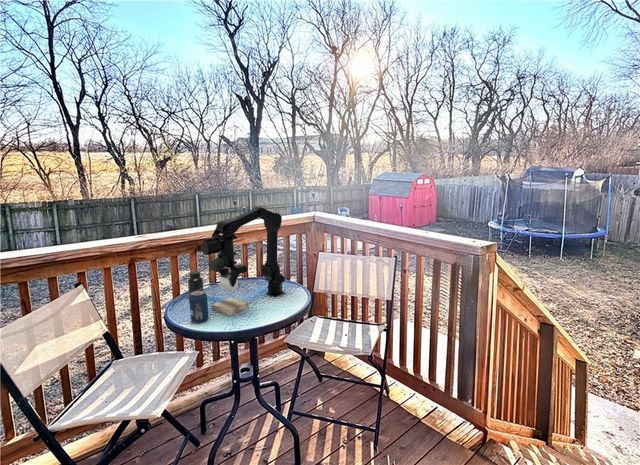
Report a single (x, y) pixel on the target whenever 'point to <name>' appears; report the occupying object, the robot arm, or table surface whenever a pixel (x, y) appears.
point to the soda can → (198, 306)
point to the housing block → (227, 283)
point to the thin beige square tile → (230, 306)
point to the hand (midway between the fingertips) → (229, 285)
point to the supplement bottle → (195, 282)
